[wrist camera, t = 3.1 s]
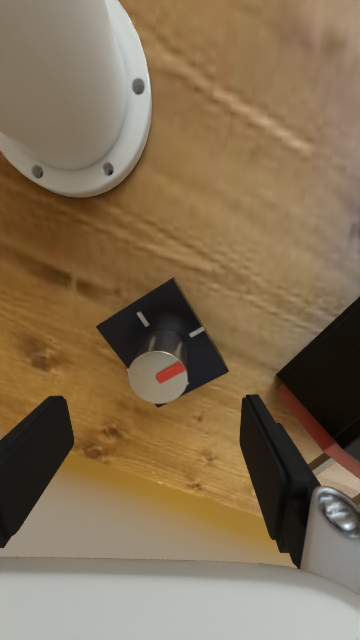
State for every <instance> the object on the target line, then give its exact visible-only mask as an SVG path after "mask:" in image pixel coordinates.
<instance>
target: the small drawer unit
mask: <svg viewBox="0 0 360 640" xmlns="http://www.w3.org/2000/svg"><path fill="white" fill-rule="evenodd" d="M276 376H277V377H278V378H279V379H280V380H281V381H282V382H283V383H284V385H285V386H286V387H287V388H288V389H289V390H290V391H291V392H292V393H293V395H294V396H295V397H296V398H297V399H298V400H299V401H300V402H301V404H302V405H303V406H304V407H305V408H306V409H307V410H308V411H309V413H310V414H311V415H312V416H313V417H314V418H315V419H316V420H317V422H318V423H319V424H320V425H321V426H322V427H323V428H324V429H325V431H326V432H327V433H328V434H329V435H330V436H331V437H332V438H333V439H334V440H335V442H336V443H337V444H338V445H339V446H340V447H341V449H342V450H344V451H345V452H346V453H348V454H349V455H350V456H352V457H353V458H354V459H355V460H357V461H358V462H359V463H360V297H359V298H358V299H357V300H356V301H355V302H354V303H353V304H352V305H351V306H349V307H348V308H347V309H346V310H345V311H344V312H343V313H342V314H341V315H340V316H339V317H338V318H337V319H335V320H334V321H333V322H332V323H331V324H330V325H329V326H328V327H327V328H326V329H325V330H324V331H323V332H322V333H320V334H319V335H318V336H317V337H316V338H315V339H314V340H313V341H312V342H311V343H310V344H309V345H308V346H306V347H305V348H304V349H303V350H302V351H301V352H300V353H299V354H298V355H297V356H296V357H295V358H294V359H292V360H291V361H290V362H289V363H288V364H287V365H286V366H285V367H284V368H283V369H282V370H281V371H280V372H279V373H277V374H276Z"/></svg>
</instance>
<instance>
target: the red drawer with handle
mask: <svg viewBox="0 0 360 640" xmlns="http://www.w3.org/2000/svg"><path fill="white" fill-rule="evenodd" d="M276 391H277V393H278V394H279V395H280V397H281V398H282V399H283V400H284V402H285V403H286V404H287V406H288V407H289V408H290V409H291V411H292V412H293V413H294V415H295V416H296V417H297V419H298V420H299V421H300V422H301V424H302V425H303V426H304V428H305V429H306V430H307V431H308V433H309V434H310V435H311V437H312V438H313V439H314V441H315V442H316V443H317V444H318V446H319V447H320V448H321V450H322V451H323V452H324V453H323V454H321V455H320V456H319V457H317V458H316V459H315V460H313V461H312V462H311V463H309V464H308V466H309V467H310V469H311V470H312V472H313V473H314V475H315V476H316V475H318V474H319V473H321V472H322V471H323V470H325V469H326V468H328V467H329V466H330V465H332V464H333V463H334V462H338V463H339V464H340V465H342V466H343V467H344V468H346V469H347V470H348V471H350V472H351V473H352V474H354V475H355V476H356V477H358V478H359V479H360V463H359V462H358V461H357V460H355V459H354V458H353V457H352V456H350V455H349V454H348V453H346V452H345V451H344V450H342V449H341V447H340V446H339V445H338V444H337V443H336V442H335V440H334V439H333V438H332V437H331V436H330V435H329V434H328V433H327V432H326V431H325V429H324V428H323V427H322V426H321V425H320V424H319V423H318V422H317V420H316V419H315V418H314V417H313V416H312V415H311V414H310V413H309V411H308V410H307V409H306V408H305V407H304V406H303V405H302V404H301V402H300V401H299V400H298V399H297V398H296V397H295V396H294V395H293V393H292V392H291V391H290V390H289V389H288V388H287V387H286V386H285V385H284V384H283V385H281V386H280V387H279V388H278V389H277V390H276ZM352 500H354V501H355V502H356V503H357V504H358V505H359V506H360V494H358V495H357V496H355V497H354V498H352Z"/></svg>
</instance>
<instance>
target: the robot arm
mask: <svg viewBox="0 0 360 640" xmlns="http://www.w3.org/2000/svg"><path fill="white" fill-rule="evenodd" d="M151 111H152V98H151V87H150V79H149V74H148V69H147V63H146V58H145V55H144V52H143V49H142V46H141V42H140V39H139V36H138V34H137V32H136V30H135V28H134V26H133V24H132V22H131V20H130V18H129V16H128V14H127V13H126V11H125V10H124V9H123V7H122V6H121V4H120V3H119V1H118V0H0V151H1V152H2V153H3V155H4V156H5V157H6V158H7V159H8V161H9V162H10V163H11V164H12V165H13V166H14V167H15V168H16V169H18V170H19V171H20V172H21V173H22V174H23V175H24V176H26V177H27V178H29V179H30V180H32V181H34V182H35V183H37V184H38V185H40V186H42V187H44V188H46V189H48V190H50V191H52V192H54V193H57V194H60V195H64V196H67V197H79V198H84V197H91V196H97V195H99V194H102V193H104V192H107V191H109V190H111V189H112V188H114V187H115V186H117V185H118V184H120V183H121V182H122V181H123V180H124V179H125V178H126V177H127V176H128V175H129V174H130V173H131V171H132V170H133V168H134V167H135V165H136V164H137V162H138V160H139V159H140V157H141V155H142V152H143V150H144V147H145V145H146V142H147V138H148V133H149V129H150V124H151ZM111 172H113V174H112V175H110V173H111ZM109 175H110V176H109ZM73 444H74V435H73V430H72V425H71V420H70V416H69V411H68V406H67V401H66V399H64V397H63V396H49V397H48V398H47V399H45V400H44V401H43V402H42V403H41V404H40V405H39V406H38V407H37V408H35V409H34V410H33V411H32V412H31V413H30V414H29V415H28V416H27V417H25V418H24V419H23V420H22V421H21V422H20V423H19V424H18V425H17V426H15V427H14V428H13V429H12V430H11V431H10V432H9V433H8V434H7V435H6V436H5V437H3V438H2V439H1V440H0V548H4V547H5V545H6V544H7V542H8V541H9V539H10V538H11V536H13V535H14V534H16V532H17V531H18V530H19V529H20V527H21V526H22V524H23V523H24V521H25V520H26V518H27V516H28V515H29V513H30V512H31V510H32V509H33V507H34V506H35V504H36V503H37V501H38V499H39V498H40V496H41V495H42V493H43V492H44V490H45V489H46V487H47V486H48V484H49V483H50V481H51V479H52V478H53V476H54V475H55V473H56V472H57V470H58V469H59V467H60V466H61V464H62V462H63V461H64V459H65V458H66V456H67V455H68V453H69V452H70V450H71V449H72V447H73ZM240 447H241V450H242V453H243V456H244V459H245V462H246V465H247V468H248V471H249V474H250V478H251V481H252V484H253V487H254V490H255V493H256V496H257V499H258V502H259V505H260V508H261V511H262V514H263V517H264V520H265V523H266V527H267V530H268V533H269V535H270V538H271V539H272V540H276V543H277V546H278V548H279V551H280V553H289V554H290V557H291V559H292V562H293V563H294V564H295V565H296V566H297V569H296V568H292V567H288V566H280V565H271V564H263V563H244V562H224V561H197V560H195V561H194V560H158V559H113V558H55V557H0V640H360V506H359V505H358V504H357V503H356V502H355V501H354V500H352V499H351V498H350V497H349V496H347V495H346V494H344V493H343V492H341V491H339V490H337V489H335V488H333V487H329V486H321V484H320V483H319V481H318V480H317V478H316V477H315V475H314V473H313V472H312V470H311V469H310V467H309V466H308V464H307V463H306V461H305V460H304V458H303V457H302V455H301V453H300V452H299V450H298V449H297V447H296V446H295V444H294V443H293V441H292V440H291V438H290V437H289V435H288V433H287V432H286V430H285V429H284V427H283V426H282V425H281V424H280V423H276V422H275V421H274V419H273V418H272V416H271V414H270V413H269V411H268V409H267V408H266V406H265V405H264V403H263V401H262V400H261V398H260V397H259V395H246V398H242V410H241V425H240Z"/></svg>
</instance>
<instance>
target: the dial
mask: <svg viewBox="0 0 360 640" xmlns="http://www.w3.org/2000/svg"><path fill="white" fill-rule="evenodd" d="M128 381H129V384H130V387H131V389H132V390H133V392H134V393H135V394H136V395H137V396H138V397H140V398H141V399H143V400H145V401H147V402H150V403H155V404H163V403H168V402H171V401H173V400H175V399H177V398H178V397H179V396H180V395H181V394H182V393H183V392H184V390H185V388H186V386H187V382H188V372H187V351H186V344H185V342H184V340H183V339H182V337H181V336H180V335H179V334H177V333H176V332H174V331H171V330H167V329H161V330H156V331H154V332H152V333H150V334H149V335H148V336H147V337H146V338H145V340H144V342H143V344H142V346H141V347H140V349H139V351H138V353H137V355H136V356H135V358H134V360H133V362H132V364H131V366H130V368H129V371H128Z"/></svg>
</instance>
